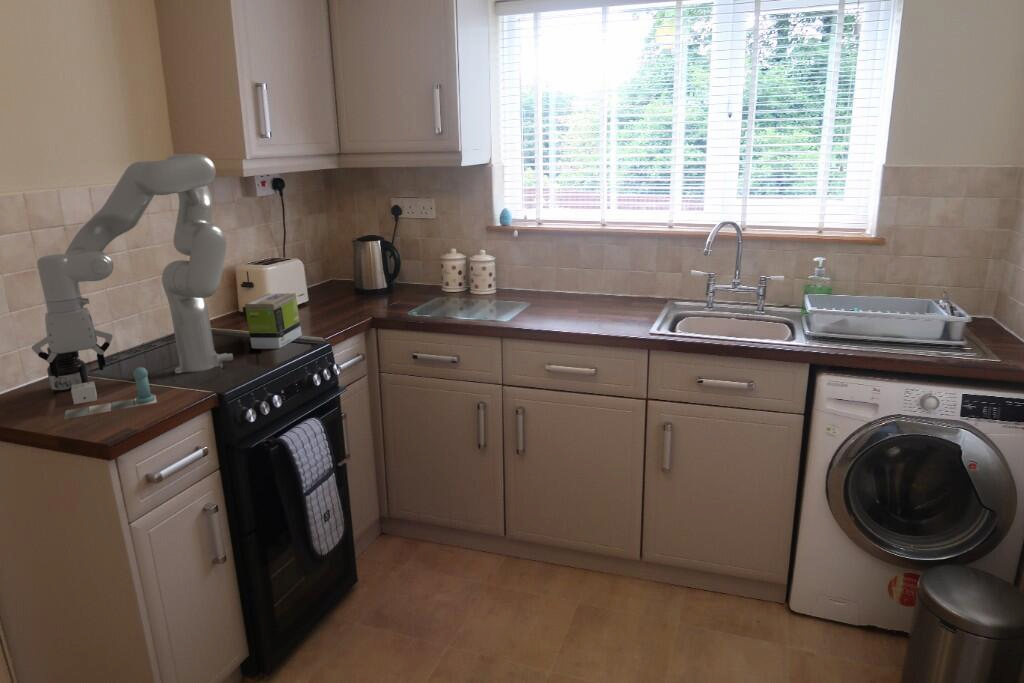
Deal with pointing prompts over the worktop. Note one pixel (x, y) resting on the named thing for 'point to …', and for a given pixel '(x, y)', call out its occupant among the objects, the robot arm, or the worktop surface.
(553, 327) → the worktop surface
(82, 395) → the die
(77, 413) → the board
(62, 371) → the ink bottle
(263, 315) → the tea box
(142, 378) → the pawn
